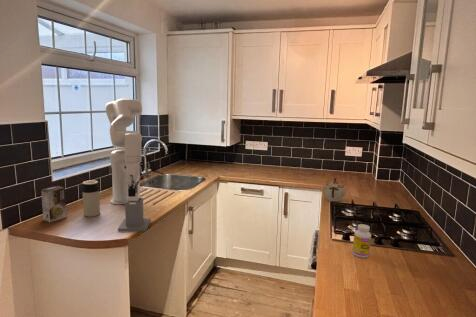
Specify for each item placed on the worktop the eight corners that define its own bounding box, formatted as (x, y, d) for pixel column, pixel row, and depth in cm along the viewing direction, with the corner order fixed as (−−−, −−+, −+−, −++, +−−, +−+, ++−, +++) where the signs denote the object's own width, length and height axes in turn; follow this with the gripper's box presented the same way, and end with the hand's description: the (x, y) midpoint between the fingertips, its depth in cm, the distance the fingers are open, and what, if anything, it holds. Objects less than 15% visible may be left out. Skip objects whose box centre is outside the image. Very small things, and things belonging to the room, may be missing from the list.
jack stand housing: (124, 221, 162) (123, 196, 160) (150, 221, 164) (150, 196, 161) (117, 231, 149) (116, 204, 147) (146, 231, 151) (145, 204, 148)
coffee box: (60, 214, 168) (58, 185, 165) (67, 217, 165) (65, 187, 162) (42, 219, 160) (40, 189, 157) (49, 222, 157) (47, 191, 154)
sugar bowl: (323, 194, 222) (325, 174, 219) (346, 197, 217) (348, 176, 214) (319, 202, 204) (321, 180, 202) (343, 206, 199) (346, 183, 196)
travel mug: (100, 215, 169) (99, 183, 165) (84, 217, 165) (82, 184, 162) (99, 211, 176) (97, 179, 172) (83, 212, 172) (81, 180, 169)
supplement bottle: (358, 259, 131) (361, 229, 129) (348, 251, 137) (351, 223, 135) (372, 257, 133) (375, 228, 130) (362, 250, 139) (365, 222, 137)
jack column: (131, 221, 158) (130, 182, 155) (140, 221, 159) (139, 182, 155) (128, 224, 154) (127, 185, 150) (138, 224, 154) (137, 185, 151)
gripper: (129, 155, 158) (130, 188, 162) (120, 162, 142) (121, 198, 145) (144, 155, 159) (145, 188, 162) (137, 162, 142) (138, 198, 145)
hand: (134, 193), depth 153 cm, fingers open, 9 cm apart
